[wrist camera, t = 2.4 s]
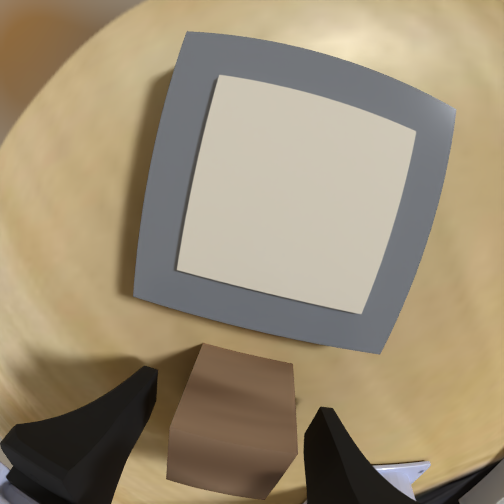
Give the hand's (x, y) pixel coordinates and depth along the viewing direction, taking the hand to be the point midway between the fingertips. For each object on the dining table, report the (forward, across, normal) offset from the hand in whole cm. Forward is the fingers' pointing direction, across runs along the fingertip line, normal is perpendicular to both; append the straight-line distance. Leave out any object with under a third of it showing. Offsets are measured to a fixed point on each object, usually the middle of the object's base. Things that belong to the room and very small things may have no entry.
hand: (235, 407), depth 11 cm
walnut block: (+2, 0, 0) cm, 2 cm away
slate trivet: (+1, 0, -9) cm, 9 cm away
